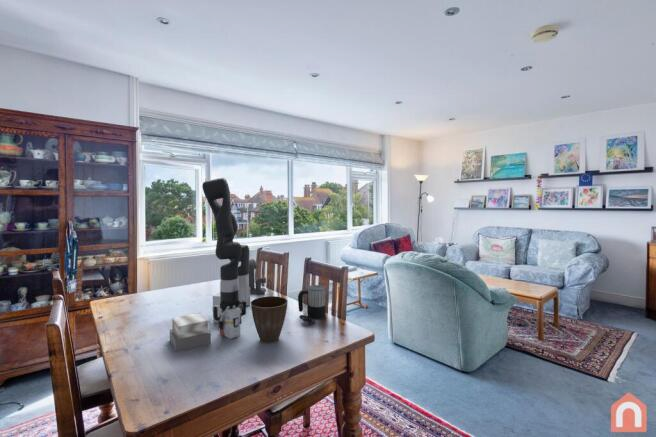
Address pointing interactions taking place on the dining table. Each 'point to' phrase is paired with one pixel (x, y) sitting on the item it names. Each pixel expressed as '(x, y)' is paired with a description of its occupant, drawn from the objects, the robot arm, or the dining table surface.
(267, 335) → the plant pot
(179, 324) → the tower top block
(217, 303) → the supplement box
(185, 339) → the tower base block
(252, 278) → the faucet
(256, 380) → the dining table surface
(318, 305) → the milk frother
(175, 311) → the dining table surface
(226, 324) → the ink box
